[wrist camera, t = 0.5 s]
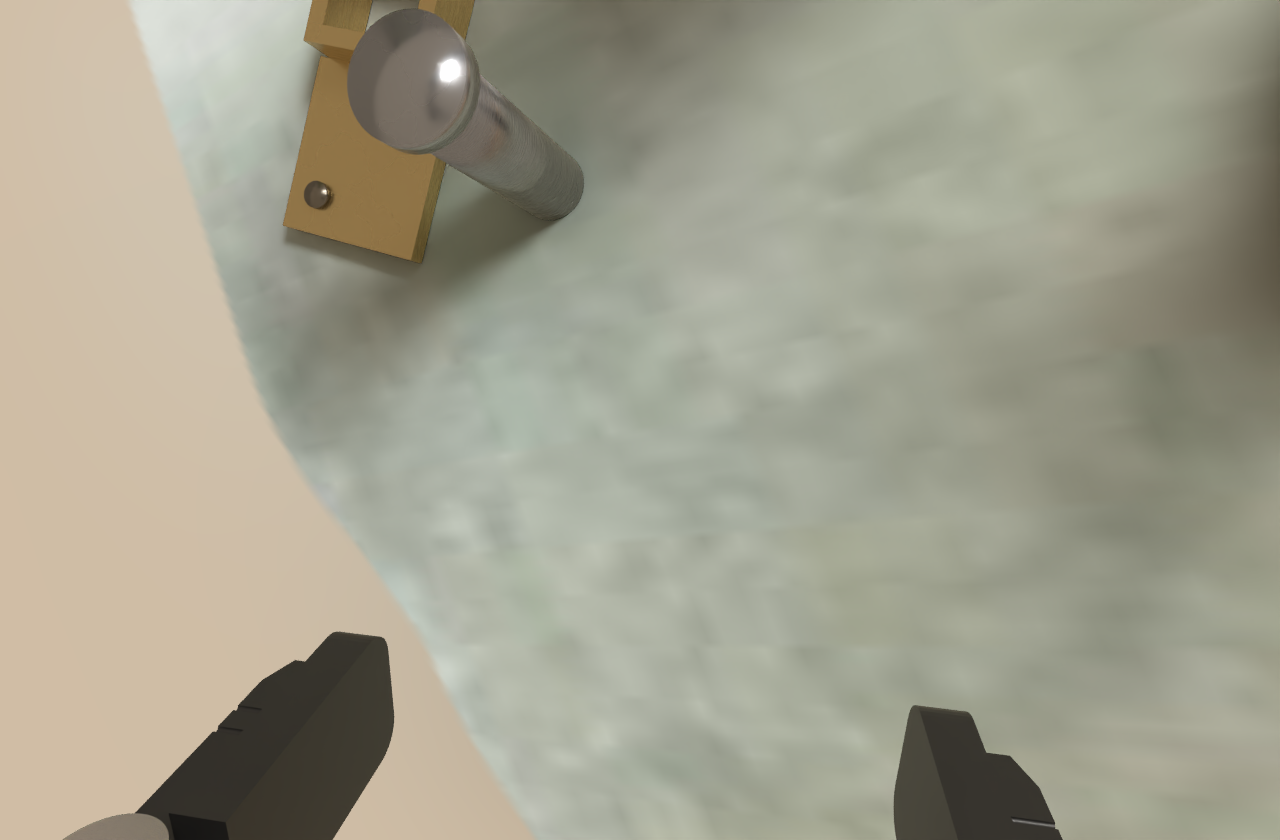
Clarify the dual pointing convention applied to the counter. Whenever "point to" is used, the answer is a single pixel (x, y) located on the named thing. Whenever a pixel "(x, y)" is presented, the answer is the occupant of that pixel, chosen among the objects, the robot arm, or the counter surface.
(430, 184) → the hinge leaves
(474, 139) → the hinge pin
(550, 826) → the counter surface
